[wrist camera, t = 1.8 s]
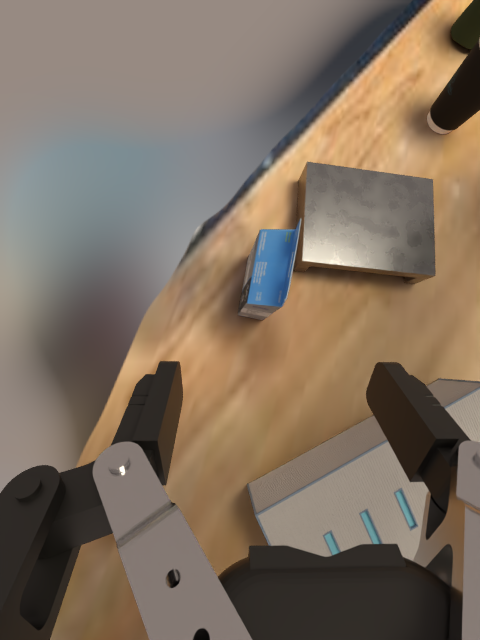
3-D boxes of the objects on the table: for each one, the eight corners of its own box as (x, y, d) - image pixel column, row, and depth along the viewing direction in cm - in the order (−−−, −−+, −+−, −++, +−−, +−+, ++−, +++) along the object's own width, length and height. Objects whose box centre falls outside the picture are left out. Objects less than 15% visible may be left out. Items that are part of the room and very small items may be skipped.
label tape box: (248, 255, 39) (263, 207, 27) (276, 261, 40) (304, 216, 28) (236, 315, 38) (247, 294, 26) (265, 321, 38) (289, 303, 26)
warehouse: (296, 596, 34) (320, 662, 27) (246, 482, 35) (254, 515, 28) (488, 475, 38) (555, 502, 31) (436, 378, 40) (488, 382, 32)
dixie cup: (470, 138, 46) (549, 69, 35) (427, 146, 45) (495, 78, 34) (453, 96, 47) (525, 16, 36) (410, 103, 46) (472, 23, 35)
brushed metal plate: (412, 196, 43) (432, 179, 39) (414, 283, 41) (435, 275, 37) (298, 180, 42) (307, 161, 38) (293, 270, 40) (302, 260, 36)
